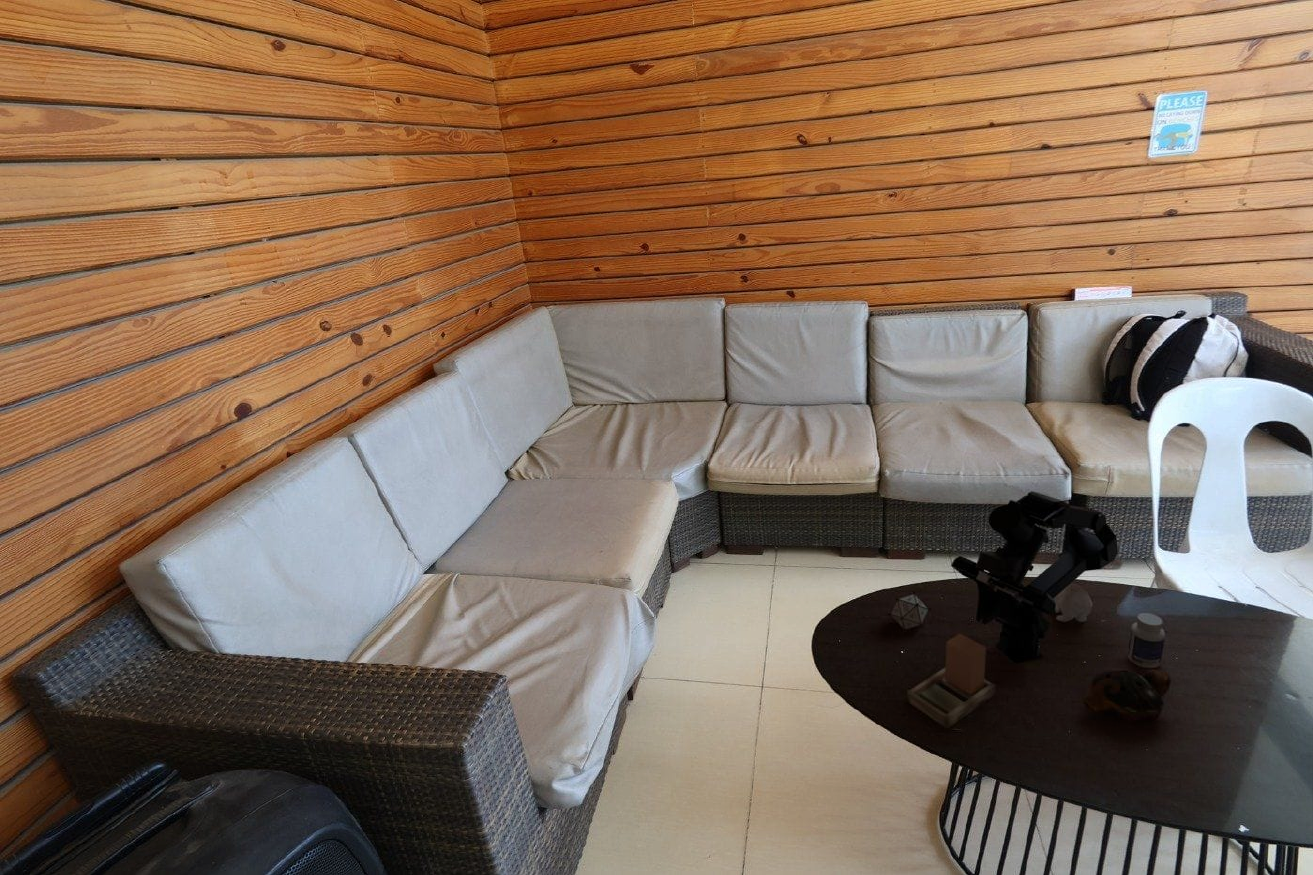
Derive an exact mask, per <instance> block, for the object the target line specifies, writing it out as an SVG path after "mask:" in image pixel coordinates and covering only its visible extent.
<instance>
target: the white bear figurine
mask: <svg viewBox="0 0 1313 875" xmlns="http://www.w3.org/2000/svg"><path fill="white" fill-rule="evenodd" d="M1053 599H1054V600H1055V603H1056V608H1055V613H1060V612H1061V615H1060V614H1059V615H1057V616H1055V619H1056V621H1059V622H1063V623H1065V622H1069V621H1071V620H1073V619H1075V620H1076V621H1077V622H1078V623H1083V622H1086V621H1087V616H1089V615H1090V614H1091V612H1092V609H1093V602H1092V601H1091V598H1090V595H1089V594H1088V592H1087V591H1086V590H1085V589H1083V588H1082V587H1081V586H1080V585H1078V584H1076V583H1071V584H1070V585H1068V586H1067V587H1066V588H1065V589H1064V590H1063V591H1061V592H1060V593H1059V594H1058V595H1057V596H1056V597H1054V598H1053Z"/></svg>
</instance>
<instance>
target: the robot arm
mask: <svg viewBox="0 0 1313 875" xmlns="http://www.w3.org/2000/svg"><path fill="white" fill-rule="evenodd" d="M988 524H989V526H990V528H991V529H992V530H993V531H994V532H995V533H997V535H999V537H1001V539H1002V540H1004V541H1005V542H1004V544H1003V546H1002V547H1000V546H999V547H997V548H996V550H995V552H990V551H980V552H979V554H978V559H977V562H975V561H973V560H971V559H969V558H966V557H964V556H962V555H958V556H957V557H955V558H954V559H953V561H952V563H951V564H950V567H952V568H953V569H954V570H955V571H956V572H958V573H959V574H960V575H961V576H963V577H965V578H966V579H970V580H972V581H973V582H974V583H975V584H976V585H977V589H978V601H977V609H976V618H975V620H976V621H977V622H978V623H980V622H981V624H982V625H984V626H986V625H988V624H989V623H990V622H992V621H993V620H994V621H995V622H997V623H999V624H1002V625H1001V632H1000V633H999V641H997V642H996V643H995V647H996V648H998V649H999V650H1000V651H1001V652H1002V653H1003V654H1004V655H1005V656H1006V657H1007V658H1008V659H1009V660H1011V661H1012V662H1013V663H1014V664H1020V663H1025V662H1028V661H1032V660H1036V659H1040V658H1043V657H1044V654H1043V653H1042V652H1041V651H1040V650H1038V649H1039V648H1038V647H1039V639H1044V638H1045V636H1046V633H1047V632H1048V630H1049V626H1050V621H1049V620H1048V619H1046V618H1045V617H1044V614H1046V615H1049V616H1052V615H1053V614H1054V611H1056V609H1055V608H1056V603H1055V600H1054V599H1053V598H1054V597H1056V596H1057V595H1058V594H1059V593H1060V592H1061V591H1063V590H1064V589H1065V588H1066V587H1067V586H1068V585H1070V584H1073V582H1074V581H1075V580H1077V579H1078V578H1079V577H1080V576H1081V575H1083V574H1084V573H1085V572H1089V571H1097V570H1102V569H1103V568H1105V567H1107V566H1108V565H1110V563H1113V562H1114V561H1115V559H1116V558H1117V556H1118V552H1119V547H1118V540H1117V536H1116V534H1115V533H1114V531H1113V530H1112V529H1111V528H1110V526H1109V525H1108V523H1107V518H1106V515H1105V514H1103V512H1101V511H1098V510H1095V509H1092V508H1088V507H1087V506H1076V505H1072V504H1071V505H1070V504H1069V503H1067V502H1065V501H1064V500H1061V499H1058V498H1055V497H1052V496H1049V495H1045V494H1042V493H1039V492H1036V491H1029V492H1027V495H1024V496H1022V497H1021V498H1020V499H1018V500H1016V501H1015V500H1013V499H1010V500H1009V501H1008V504H1004V505H1001V506H998V507H996V508H994V509H993V510H991V512H990V514H989V516H988ZM1038 525H1039V526H1038ZM1065 525H1068V526H1071V527H1070V528H1069V529H1068V530H1067V532H1066V535H1067V541H1066V542H1067V544H1066V547H1067V548H1066V552H1065V553H1064V554H1063V555H1061V556H1060V557H1058V559H1056V560H1055V561H1053V563H1052V564H1050V566H1048V567H1047V568H1045V570H1043V571H1042V572H1041V573H1040V574H1038V575H1037V576H1036V577H1035V578H1034V579H1032V580H1031V581H1030V582H1029V583H1028V584H1027V585H1025V586H1024V584H1023V581H1024V579H1025V577H1026V576H1027V574H1028V572H1032V571H1033V570H1034V567H1035V566H1034V565H1033V563H1034V560H1035V559H1036V557H1037V555H1038V554H1039V552H1040V550H1041V548H1042V546H1043V544H1048V543H1049V542H1050V540H1049V536H1048V532H1047V531H1048V530H1047V529H1052V530H1055V529H1056V530H1057V529H1061V528H1064V526H1065ZM1040 526H1041V527H1040ZM1046 528H1047V529H1046ZM1080 528H1081V529H1080ZM1082 528H1085V529H1089V530H1093V532H1090V531H1088V530H1084V529H1082ZM996 587H997V588H996ZM995 589H996V591H995Z"/></svg>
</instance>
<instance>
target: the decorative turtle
mask: <svg viewBox="0 0 1313 875" xmlns="http://www.w3.org/2000/svg"><path fill="white" fill-rule="evenodd" d="M1171 679H1172V678H1171V676H1170V675H1169V673H1167V672H1166V671H1163V670H1159V669H1150V670H1147V671H1145V672H1144V673H1143V674H1142V675H1140V674H1138V673H1137V672H1136V671H1133V670H1131V669H1123V668H1122V669H1121V668H1120V669H1119V668H1118V669H1110V670H1107V671H1103V672H1101V673H1099V674H1097V675H1096V676H1094V677H1093V679H1091V683H1090V685H1089V686H1090V691H1089V693H1087V694H1085V695H1084V696H1083V697H1082V702H1083V704H1084V706H1085V708H1086V709H1087V710H1088V711H1089V712H1091V713H1094V714H1096V713H1101V712H1102V713H1103V712H1108V711H1110V712H1111V711H1113V712H1114V713H1115V712H1116V713H1117V714H1118V715H1119V717H1120V718H1121V720H1122V721H1123V722H1124V723H1125V724H1128V725H1130V724H1131V725H1132V724H1134V723H1136V722H1139V721H1141V720H1143V719H1146V720H1149V721H1155V720H1158V718H1159V717H1160V715H1161V713H1162V711H1163V709H1164V700H1163V697H1164V696H1165V695H1166V694H1167V692H1168V691H1169V688H1170V686H1171V681H1172V680H1171Z"/></svg>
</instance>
